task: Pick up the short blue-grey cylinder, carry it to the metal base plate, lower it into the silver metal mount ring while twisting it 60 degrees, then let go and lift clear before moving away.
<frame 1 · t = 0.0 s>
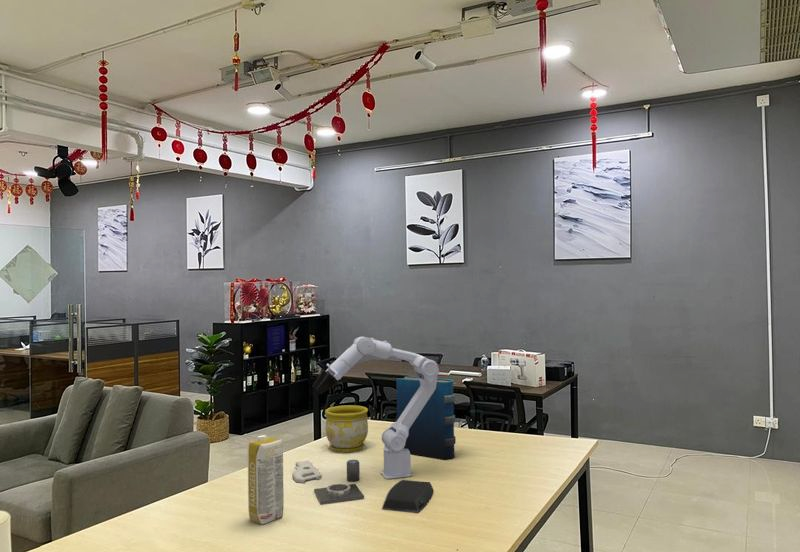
hand: (315, 390, 199), 32 cm above the table, tool tilted 50°, fingers open, 7 cm apart
flowerpot: (347, 449, 242), on the table
metal base plate: (338, 495, 187), on the table
juice carton: (266, 519, 169), on the table
external hard drive: (408, 502, 182), on the table
book: (428, 454, 232), on the table
blue-grey cylinder: (353, 480, 202), on the table
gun: (305, 476, 209), on the table
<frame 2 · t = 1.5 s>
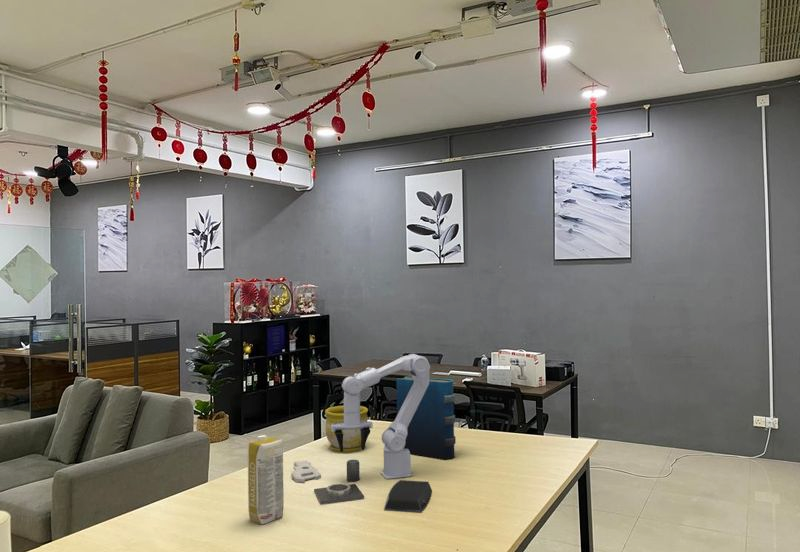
hand: (352, 450, 202), 10 cm above the table, tool pointing down, fingers open, 7 cm apart
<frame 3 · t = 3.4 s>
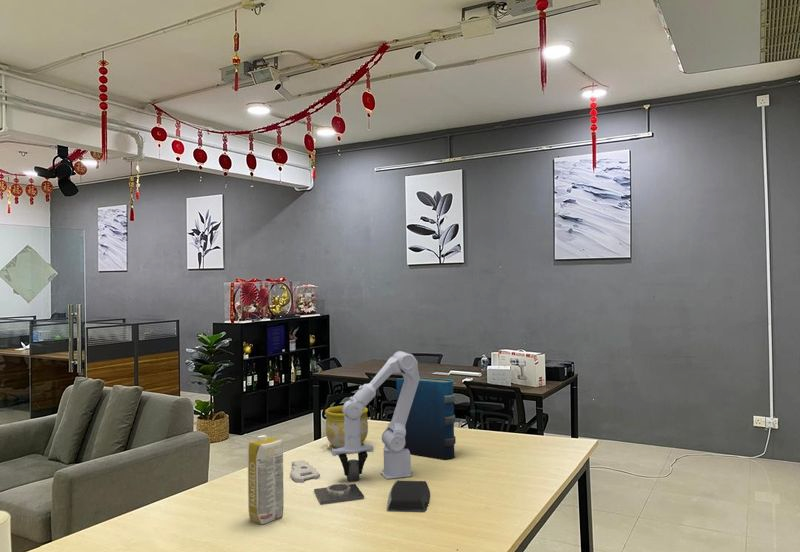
hand: (353, 474, 202), 2 cm above the table, tool pointing down, fingers closed on blue-grey cylinder, 4 cm apart
blue-grey cylinder: (353, 480, 202), on the table, touching gripper
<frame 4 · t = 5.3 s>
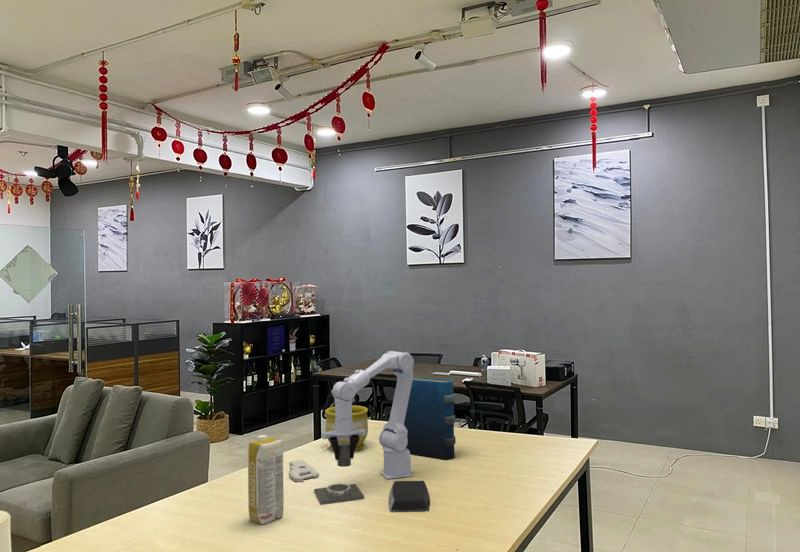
hand: (344, 458, 194), 10 cm above the table, tool pointing down, fingers closed on blue-grey cylinder, 4 cm apart
blue-grey cylinder: (344, 464, 194), point 8 cm above the table, touching gripper
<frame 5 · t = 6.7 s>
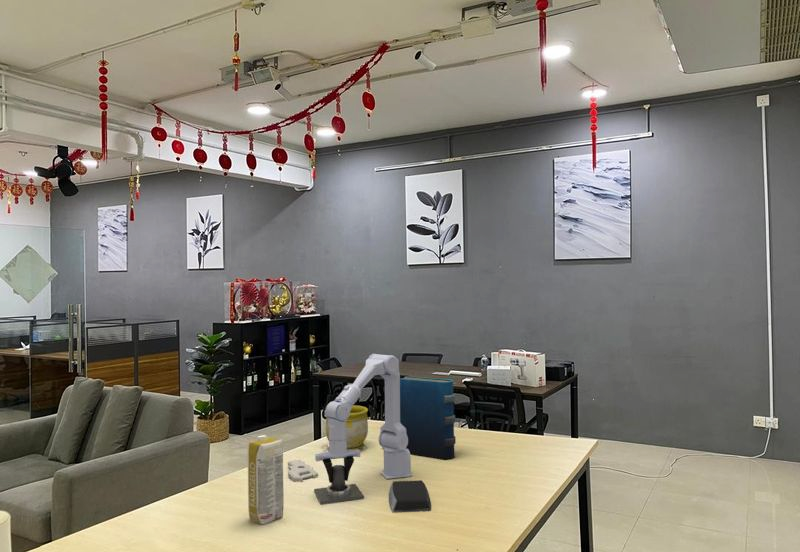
hand: (338, 480, 187), 5 cm above the table, tool pointing down, fingers closed on blue-grey cylinder, 4 cm apart
blue-grey cylinder: (338, 487, 188), point 3 cm above the table, touching gripper
when the fingers open (3 cm above the table, at t = 7.7 s): blue-grey cylinder stays where it is, resting on metal base plate.
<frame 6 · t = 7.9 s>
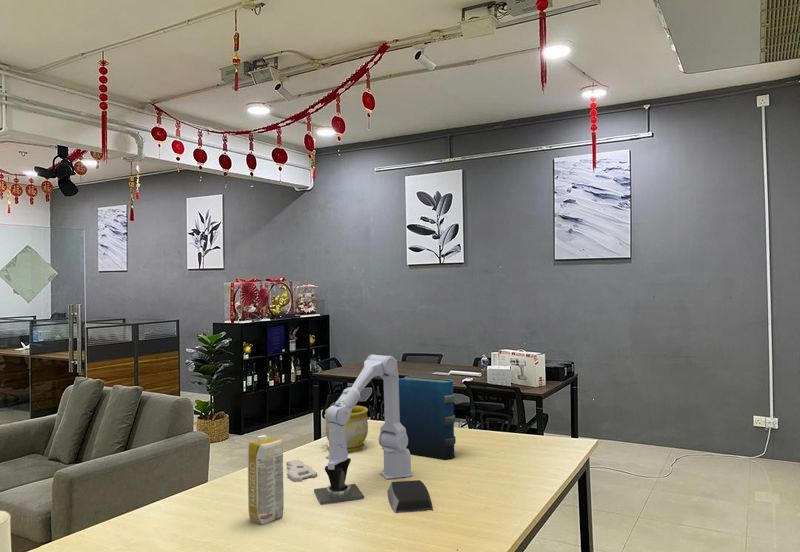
hand: (338, 485, 187), 3 cm above the table, tool pointing down, fingers open, 6 cm apart
blue-grey cylinder: (337, 492, 187), point 1 cm above the table, touching metal base plate
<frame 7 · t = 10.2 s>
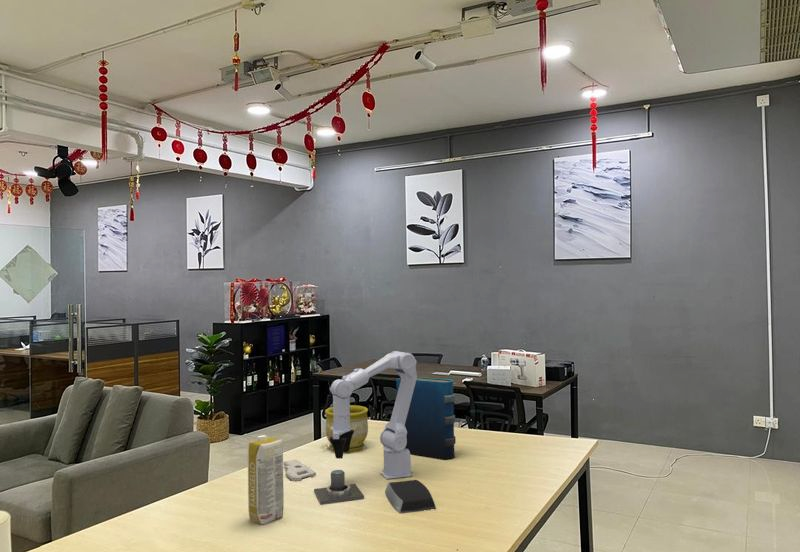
hand: (342, 454, 197), 10 cm above the table, tool pointing down, fingers open, 7 cm apart
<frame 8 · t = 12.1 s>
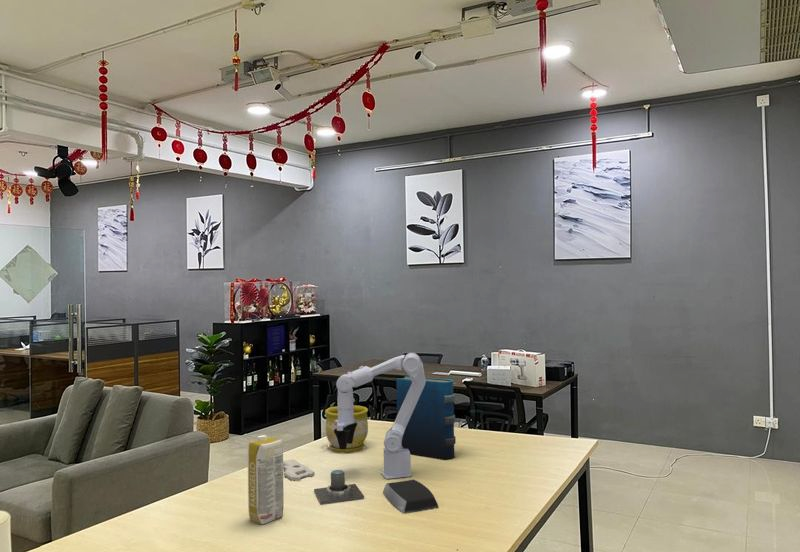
hand: (346, 446, 208), 10 cm above the table, tool pointing down, fingers open, 7 cm apart
at the end: blue-grey cylinder 0.2 cm off-centre on the metal base plate, point 1.0 cm above the metal base plate's base; blue-grey cylinder tilted 0°; the gripper is holding nothing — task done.
